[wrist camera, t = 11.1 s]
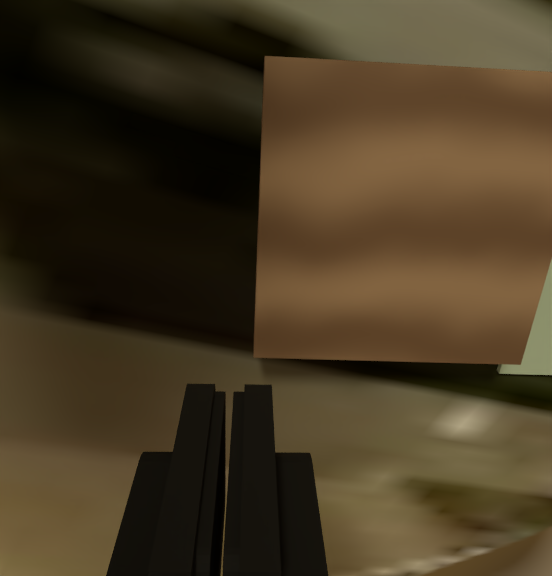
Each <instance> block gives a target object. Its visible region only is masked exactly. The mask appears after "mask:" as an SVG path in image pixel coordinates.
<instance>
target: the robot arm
mask: <svg viewBox="0 0 552 576" xmlns="http://www.w3.org/2000/svg"><path fill="white" fill-rule="evenodd" d="M224 513H225V392H215V384H187V387H186V391H185V396H184V401H183V406H182V410H181V415H180V420H179V425H178V430H177V435H176V439H175V444H174V449H173V452H143V453H142V455H141V457H140V460H139V463H138V466H137V470H136V473H135V477H134V480H133V484H132V487H131V491H130V494H129V498H128V501H127V505H126V508H125V512H124V515H123V519H122V522H121V526H120V529H119V533H118V536H117V540H116V543H115V547H114V550H113V554H112V557H111V561H110V564H109V568H108V571H107V575H106V576H220V573H221V558H222V543H223V528H224ZM223 576H328V571H327V564H326V557H325V549H324V542H323V535H322V528H321V521H320V514H319V507H318V500H317V493H316V486H315V479H314V472H313V464H312V459H311V455H310V453H275V441H274V421H273V401H272V385H245V392H234V396H233V412H232V428H231V444H230V460H229V476H228V492H227V508H226V524H225V540H224V557H223Z"/></svg>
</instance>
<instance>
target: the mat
mask: <svg viewBox="0 0 552 576" xmlns="http://www.w3.org/2000/svg"><path fill="white" fill-rule="evenodd" d="M497 371H498V373H499V374H529V375H552V259H551V263H550V266H549V270H548V273H547V276H546V280H545V283H544V287H543V290H542V294H541V297H540V300H539V304H538V307H537V311H536V314H535V318H534V321H533V325H532V328H531V331H530V335H529V338H528V342H527V345H526V349H525V352H524V355H523V359H522V362H521V365H509V364H498V368H497Z"/></svg>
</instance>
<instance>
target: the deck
mask: <svg viewBox="0 0 552 576" xmlns="http://www.w3.org/2000/svg"><path fill="white" fill-rule="evenodd" d="M551 259H552V72H542V71H525V70H507V69H489V68H471V67H454V66H436V65H418V64H400V63H382V62H365V61H347V60H329V59H311V58H294V57H276V56H265V57H264V75H263V102H262V129H261V156H260V183H259V209H258V236H257V263H256V290H255V317H254V358H288V359H325V360H362V361H399V362H435V363H472V364H509V365H521V362H522V359H523V355H524V352H525V349H526V345H527V342H528V338H529V335H530V331H531V328H532V325H533V321H534V318H535V314H536V311H537V307H538V304H539V300H540V297H541V294H542V290H543V287H544V283H545V280H546V276H547V273H548V270H549V266H550V263H551Z"/></svg>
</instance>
